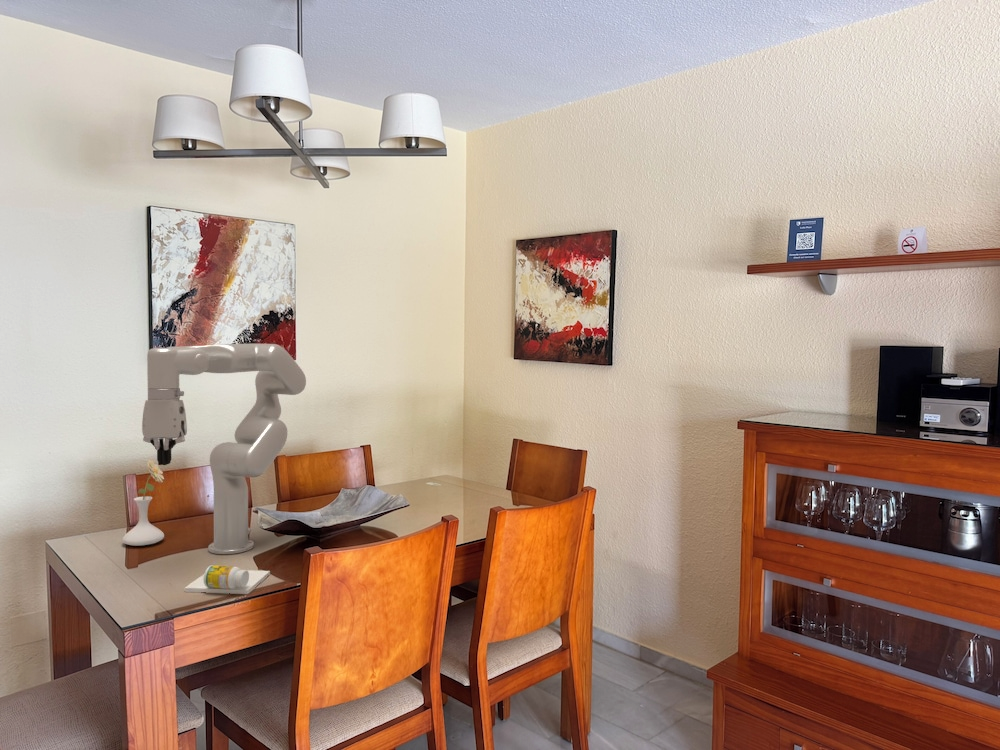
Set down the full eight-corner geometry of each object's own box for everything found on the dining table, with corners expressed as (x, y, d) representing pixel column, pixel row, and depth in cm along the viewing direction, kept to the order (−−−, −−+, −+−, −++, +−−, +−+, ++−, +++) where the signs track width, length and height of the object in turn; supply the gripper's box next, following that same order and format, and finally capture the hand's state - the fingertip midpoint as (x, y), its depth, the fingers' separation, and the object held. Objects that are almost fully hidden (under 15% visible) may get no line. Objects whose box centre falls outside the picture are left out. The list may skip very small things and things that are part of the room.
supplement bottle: (202, 589, 168) (238, 592, 167) (203, 567, 168) (239, 570, 167) (214, 584, 173) (250, 587, 172) (215, 562, 174) (251, 565, 172)
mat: (211, 572, 184) (211, 569, 184) (269, 574, 183) (269, 571, 183) (184, 591, 170) (184, 587, 170) (247, 594, 169) (247, 590, 169)
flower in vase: (146, 550, 202) (146, 465, 201) (113, 547, 204) (112, 463, 203) (176, 537, 215) (175, 458, 213) (144, 535, 217) (143, 456, 216)
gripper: (198, 394, 184) (198, 462, 185) (144, 393, 185) (144, 461, 186) (184, 396, 177) (184, 467, 178) (127, 395, 178) (128, 466, 179)
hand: (164, 464), depth 182 cm, fingers closed
